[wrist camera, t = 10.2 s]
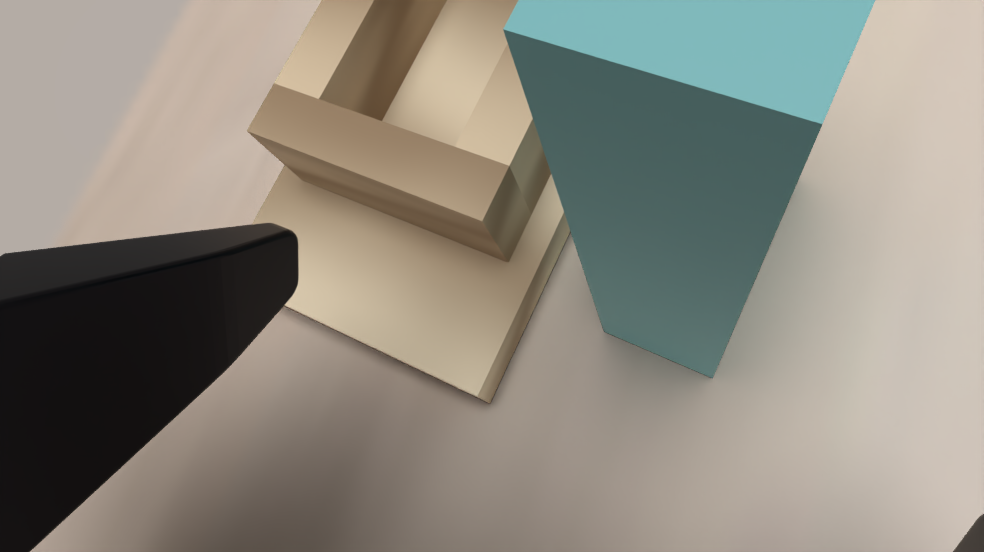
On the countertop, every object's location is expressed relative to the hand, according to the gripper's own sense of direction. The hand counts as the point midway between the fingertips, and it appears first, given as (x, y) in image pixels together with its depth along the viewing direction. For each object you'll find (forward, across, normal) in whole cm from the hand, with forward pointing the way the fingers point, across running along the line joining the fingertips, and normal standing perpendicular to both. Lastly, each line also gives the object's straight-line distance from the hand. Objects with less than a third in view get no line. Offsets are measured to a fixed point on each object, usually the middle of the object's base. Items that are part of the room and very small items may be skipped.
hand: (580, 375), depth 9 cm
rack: (+11, +6, -1) cm, 12 cm away
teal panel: (+8, 0, +2) cm, 8 cm away
